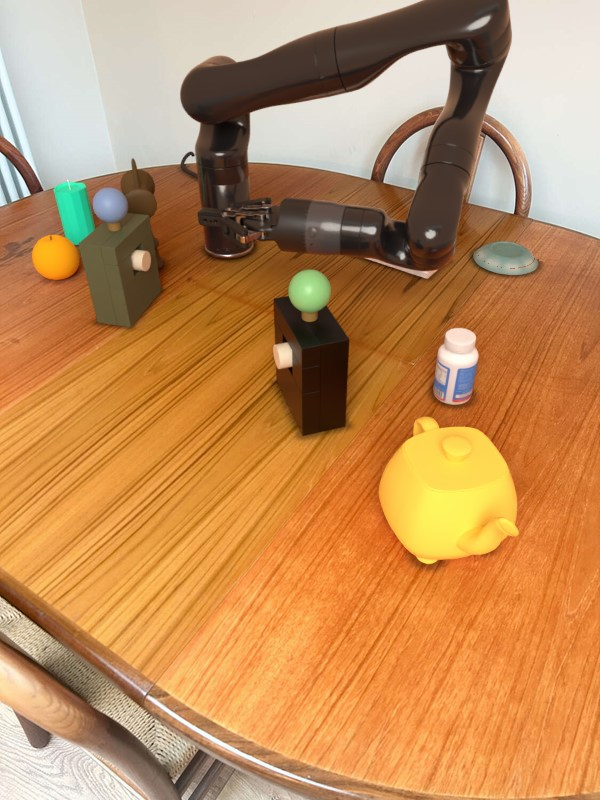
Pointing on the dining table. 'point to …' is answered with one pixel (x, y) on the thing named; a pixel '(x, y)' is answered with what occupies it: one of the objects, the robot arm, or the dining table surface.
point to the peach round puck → (140, 260)
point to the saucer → (505, 258)
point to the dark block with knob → (312, 354)
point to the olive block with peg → (119, 261)
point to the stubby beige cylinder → (282, 355)
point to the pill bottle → (456, 367)
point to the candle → (74, 210)
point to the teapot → (448, 493)
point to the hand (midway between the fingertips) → (200, 216)
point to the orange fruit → (55, 257)
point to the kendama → (141, 197)
